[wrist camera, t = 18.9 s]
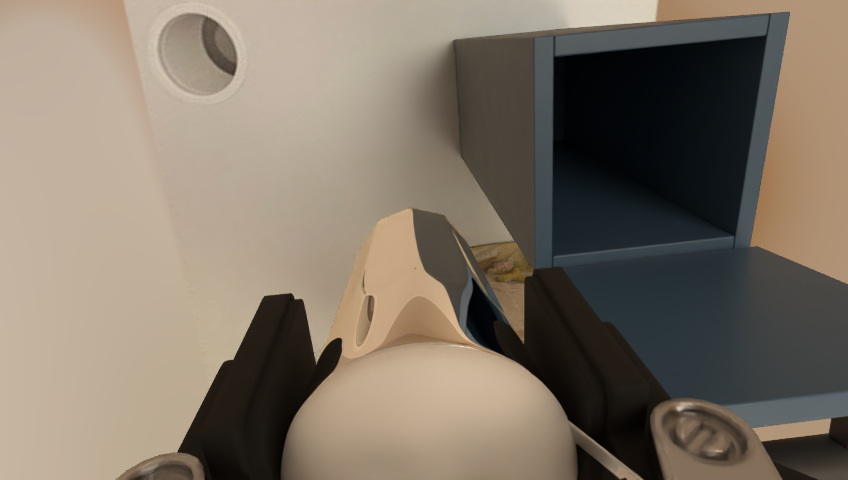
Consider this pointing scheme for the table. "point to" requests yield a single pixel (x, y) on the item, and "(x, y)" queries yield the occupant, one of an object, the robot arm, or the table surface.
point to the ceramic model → (506, 278)
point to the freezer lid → (739, 340)
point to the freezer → (622, 134)
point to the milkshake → (429, 375)
